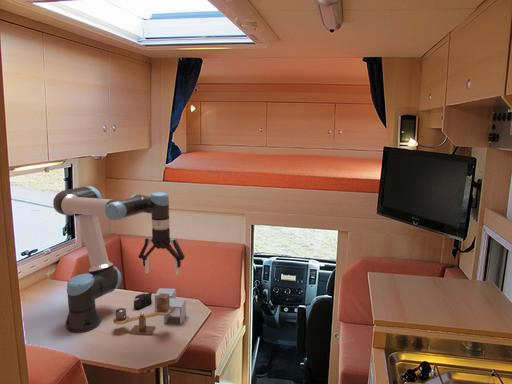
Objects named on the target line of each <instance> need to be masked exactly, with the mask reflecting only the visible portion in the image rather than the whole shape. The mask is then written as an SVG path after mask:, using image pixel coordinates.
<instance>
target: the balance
mask: <svg viewBox="0 0 512 384" xmlns="http://www.w3.org/2000/svg"><path fill="white" fill-rule="evenodd" d="M155 311H156V312H155ZM169 313H171V308H169V310H168V312H167V313H164V312H157V309H156V310H155V309H154V312H152V313H148V314H145V312H143V311H142V312H140V313H139V315H138V316H134V317H133V316H132V317H129V316H128V315H127V309H126V308H124V307H120V308H116V309H115V317H114V318H113V324H115V325H124V324H127V323H129V322H134V321H138V324H136V325H134V326H133V327H132V328H131V330H130V331H129V334H130V335H141V336H144V335H145V336H152V335H153V333H154V332H153V331H155V330H156V326H155V325H147V319H148V318H152V317H157V316H164V315H167V314H169ZM171 314H172V313H171Z"/></svg>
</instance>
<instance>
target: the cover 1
mask: <svg viewBox="0 0 512 384" xmlns="http://www.w3.org/2000/svg"><path fill="white" fill-rule="evenodd" d="M160 293H163V294H169V298H176V299H177V288H167V287H166V288H163V287H160V288H159V289H157V291H156V293H155V294H154V313H155V312H156V311H155V310H156V309H157V297H158V295H159V294H160ZM174 309H175V308H171V314H172V313H173V311H174Z"/></svg>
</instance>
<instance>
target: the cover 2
mask: <svg viewBox="0 0 512 384" xmlns="http://www.w3.org/2000/svg"><path fill="white" fill-rule="evenodd" d="M186 302H187V300H186V298H177V297H176V298H170V308H174V309H179V325H182V324H183V323H184V321H185V319H186V317H187V303H186ZM171 315H172V313H169V314H167V315H163V323H166V324H167V322H168V320H169V319H170V317H171Z"/></svg>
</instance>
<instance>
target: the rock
mask: <svg viewBox="0 0 512 384" xmlns="http://www.w3.org/2000/svg"><path fill="white" fill-rule="evenodd" d="M152 295H153V293H152V292H147V293H146V292H144V293H140V294H138V295H136V296H134V301H133V307H134V308H133V309H140V310H141V309H143V308H146V307H147V308H148V306H150V305H151V304H152V302H153V301H152Z"/></svg>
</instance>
